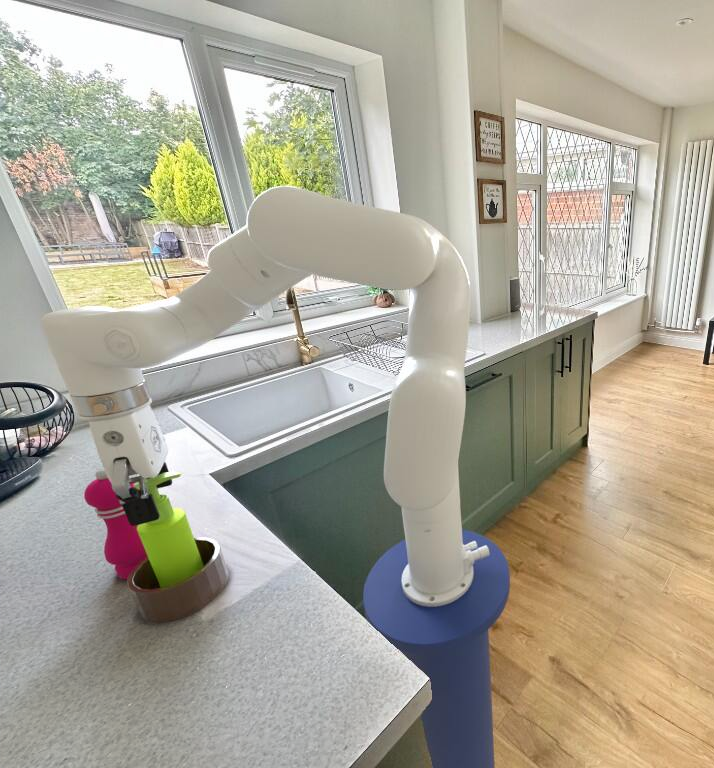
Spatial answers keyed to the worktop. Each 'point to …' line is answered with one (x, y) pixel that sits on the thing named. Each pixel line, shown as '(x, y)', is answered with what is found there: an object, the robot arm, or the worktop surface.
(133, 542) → the pepper mill
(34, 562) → the worktop surface
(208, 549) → the bowl
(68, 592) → the worktop surface
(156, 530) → the soap dispenser
